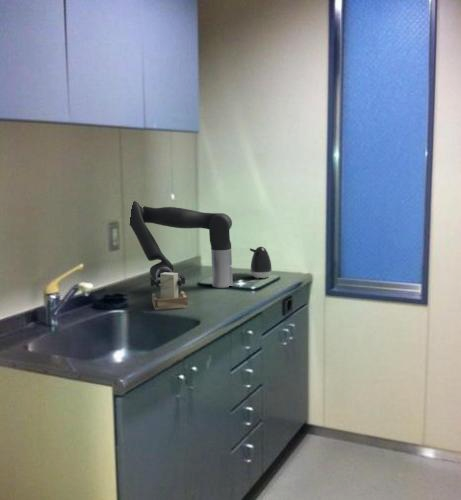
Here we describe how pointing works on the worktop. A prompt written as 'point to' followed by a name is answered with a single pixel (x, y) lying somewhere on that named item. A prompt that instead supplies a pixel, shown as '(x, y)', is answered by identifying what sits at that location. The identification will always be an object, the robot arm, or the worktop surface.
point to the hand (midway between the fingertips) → (169, 284)
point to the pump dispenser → (260, 263)
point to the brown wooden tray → (170, 302)
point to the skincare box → (169, 285)
